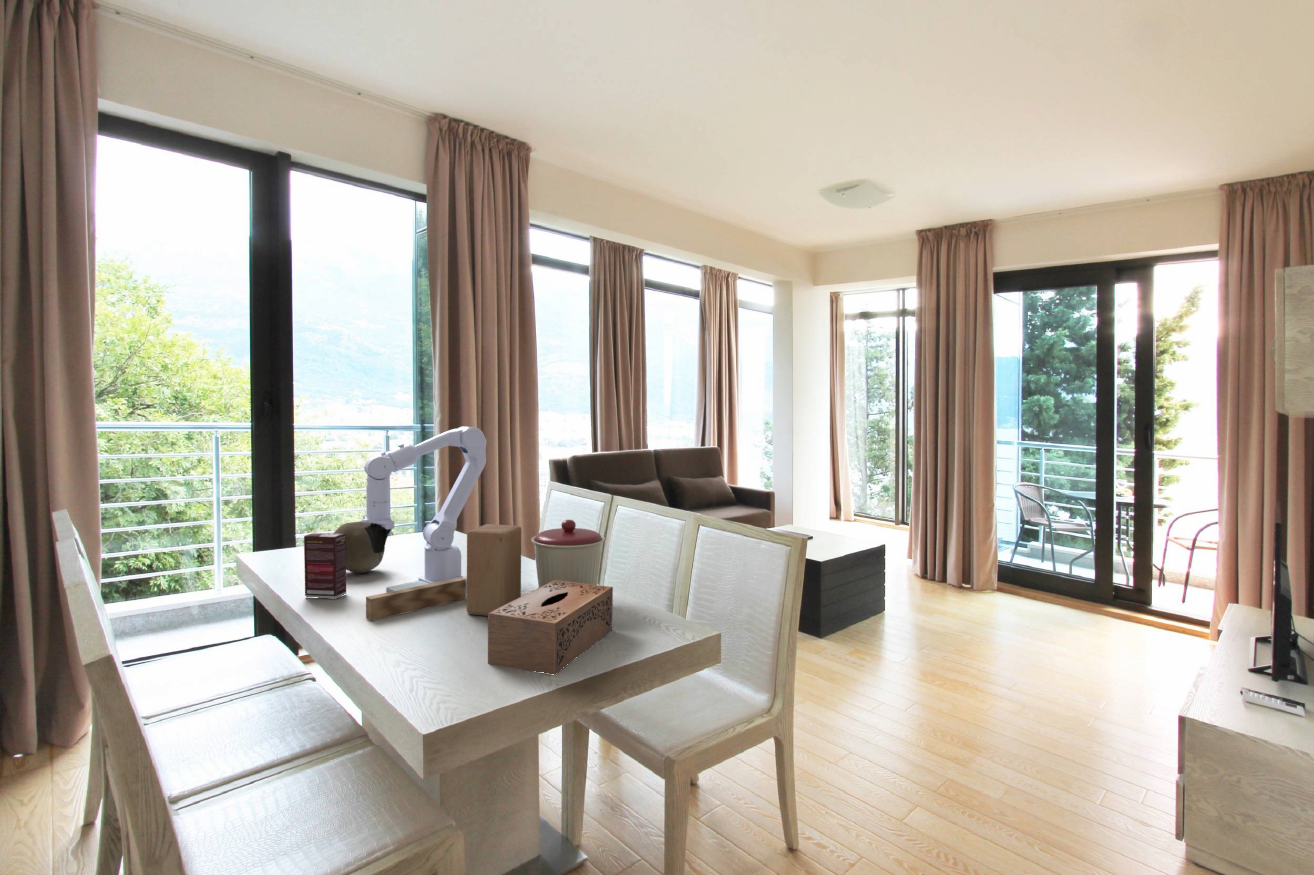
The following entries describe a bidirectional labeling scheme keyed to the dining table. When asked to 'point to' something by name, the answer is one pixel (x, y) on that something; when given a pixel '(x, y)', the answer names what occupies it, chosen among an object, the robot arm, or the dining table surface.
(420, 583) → the block
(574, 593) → the tissue box cover
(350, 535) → the cantaloupe
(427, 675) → the dining table surface
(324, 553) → the supplement box
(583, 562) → the canister
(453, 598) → the board
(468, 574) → the wooden block
